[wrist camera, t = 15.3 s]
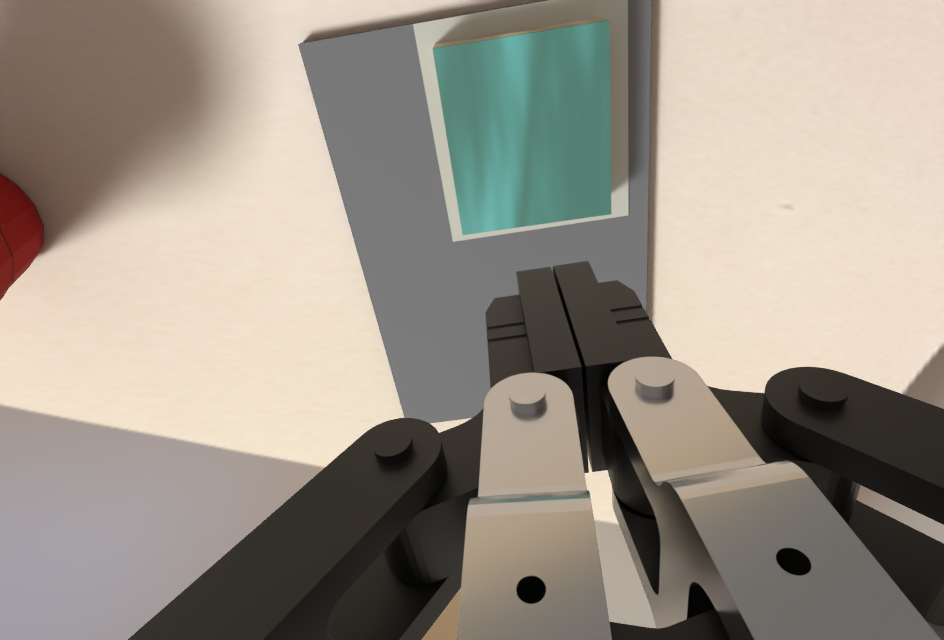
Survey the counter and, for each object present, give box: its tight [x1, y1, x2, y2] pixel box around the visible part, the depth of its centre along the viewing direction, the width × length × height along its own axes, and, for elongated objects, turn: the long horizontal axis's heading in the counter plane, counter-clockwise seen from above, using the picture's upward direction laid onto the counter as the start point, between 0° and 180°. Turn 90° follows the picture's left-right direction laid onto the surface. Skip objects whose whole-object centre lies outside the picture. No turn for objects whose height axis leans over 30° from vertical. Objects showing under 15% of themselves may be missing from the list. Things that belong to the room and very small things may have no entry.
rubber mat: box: [298, 0, 651, 423], centre depth 29 cm, size 15×22×1 cm
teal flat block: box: [433, 18, 611, 235], centre depth 25 cm, size 2×8×7 cm
